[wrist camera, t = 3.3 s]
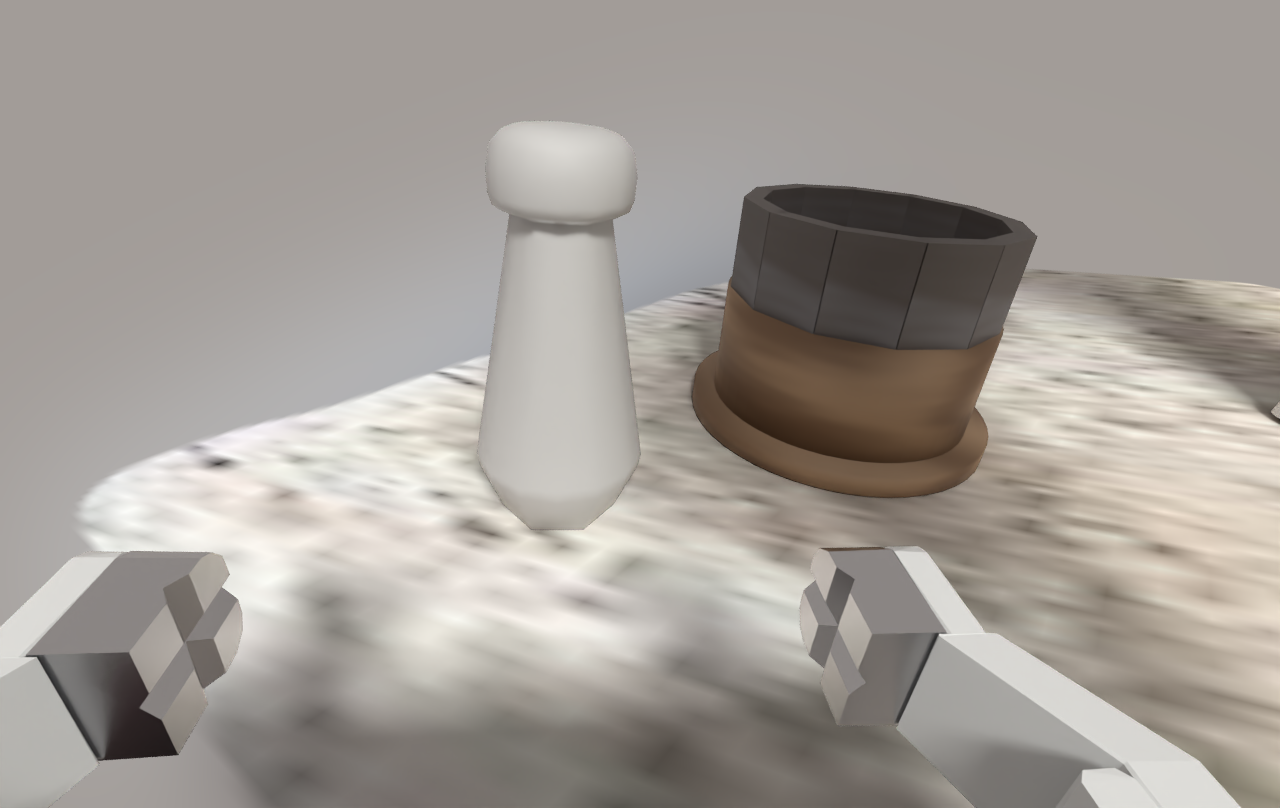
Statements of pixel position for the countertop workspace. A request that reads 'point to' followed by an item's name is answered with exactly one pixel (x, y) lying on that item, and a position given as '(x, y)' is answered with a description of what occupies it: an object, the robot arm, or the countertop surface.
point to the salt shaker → (559, 326)
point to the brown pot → (861, 337)
